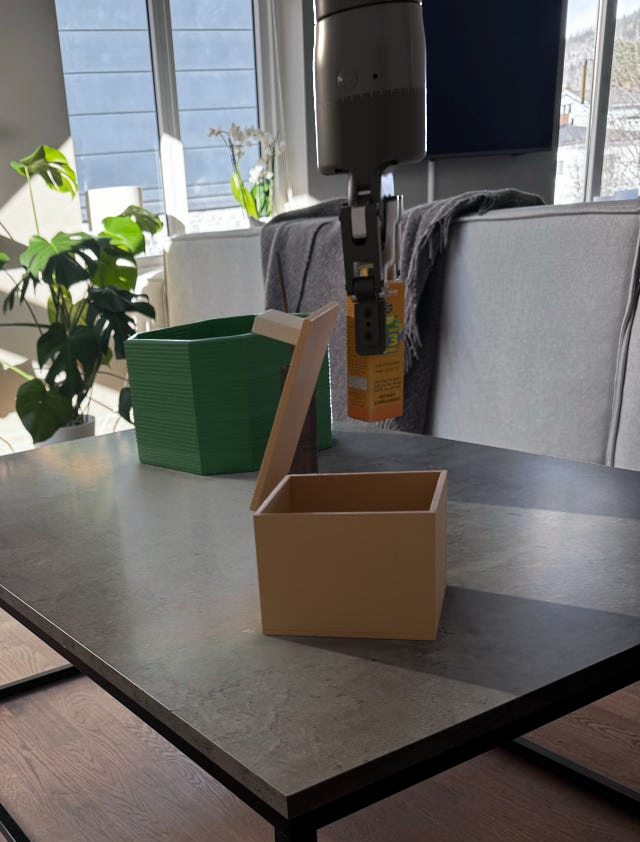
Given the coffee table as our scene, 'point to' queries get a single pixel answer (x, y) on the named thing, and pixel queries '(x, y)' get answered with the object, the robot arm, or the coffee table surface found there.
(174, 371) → the planter
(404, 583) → the carton
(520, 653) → the coffee table surface
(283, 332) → the flap
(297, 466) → the butter churn
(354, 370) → the supplement box
